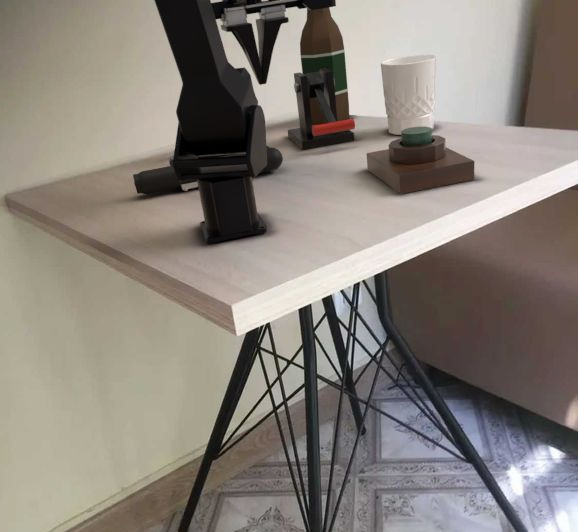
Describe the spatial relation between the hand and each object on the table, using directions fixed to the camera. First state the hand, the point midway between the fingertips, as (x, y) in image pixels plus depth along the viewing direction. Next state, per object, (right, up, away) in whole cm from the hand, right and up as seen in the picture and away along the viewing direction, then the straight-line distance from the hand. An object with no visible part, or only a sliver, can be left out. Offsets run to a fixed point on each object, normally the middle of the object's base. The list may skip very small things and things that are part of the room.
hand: (262, 83), depth 84 cm
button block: (+19, -11, 0) cm, 22 cm away
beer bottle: (+10, +7, +36) cm, 38 cm away
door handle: (-8, -8, +14) cm, 18 cm away
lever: (+8, +3, +18) cm, 20 cm away
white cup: (+22, +1, +21) cm, 30 cm away
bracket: (+8, +1, +24) cm, 25 cm away
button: (+19, -8, -2) cm, 20 cm away
